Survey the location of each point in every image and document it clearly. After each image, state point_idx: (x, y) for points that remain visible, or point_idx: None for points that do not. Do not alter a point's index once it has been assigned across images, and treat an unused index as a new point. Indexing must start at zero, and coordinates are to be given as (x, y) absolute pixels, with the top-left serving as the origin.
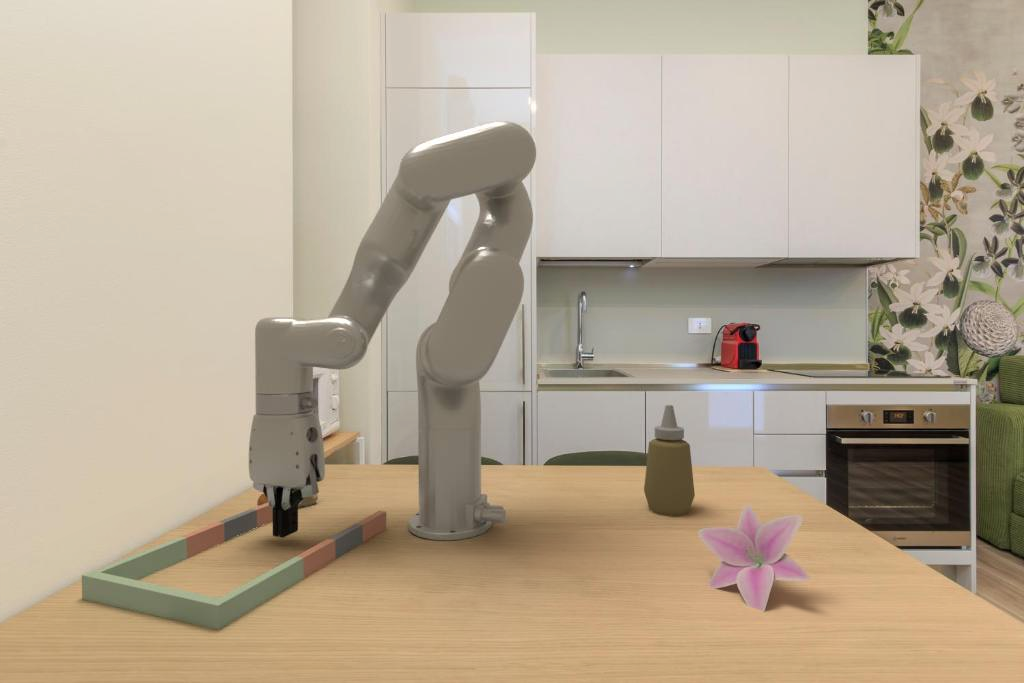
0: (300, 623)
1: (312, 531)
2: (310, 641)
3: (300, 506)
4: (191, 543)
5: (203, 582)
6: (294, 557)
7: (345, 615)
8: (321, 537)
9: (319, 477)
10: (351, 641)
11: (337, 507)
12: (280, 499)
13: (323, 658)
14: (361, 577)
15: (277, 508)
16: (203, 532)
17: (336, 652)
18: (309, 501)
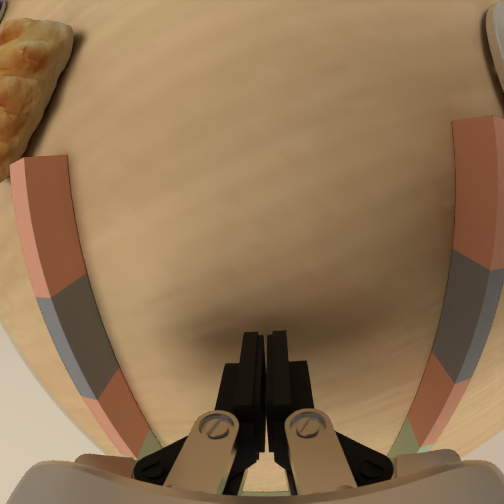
0: (449, 442)
1: (251, 209)
2: (463, 443)
3: (54, 83)
4: (138, 442)
5: (261, 462)
6: (420, 449)
7: (486, 412)
8: (326, 242)
9: (467, 480)
10: (492, 424)
11: (153, 4)
12: (242, 463)
13: (476, 443)
14: (494, 355)
15: (258, 453)
16: (121, 435)
17: (483, 435)
18: (61, 55)
